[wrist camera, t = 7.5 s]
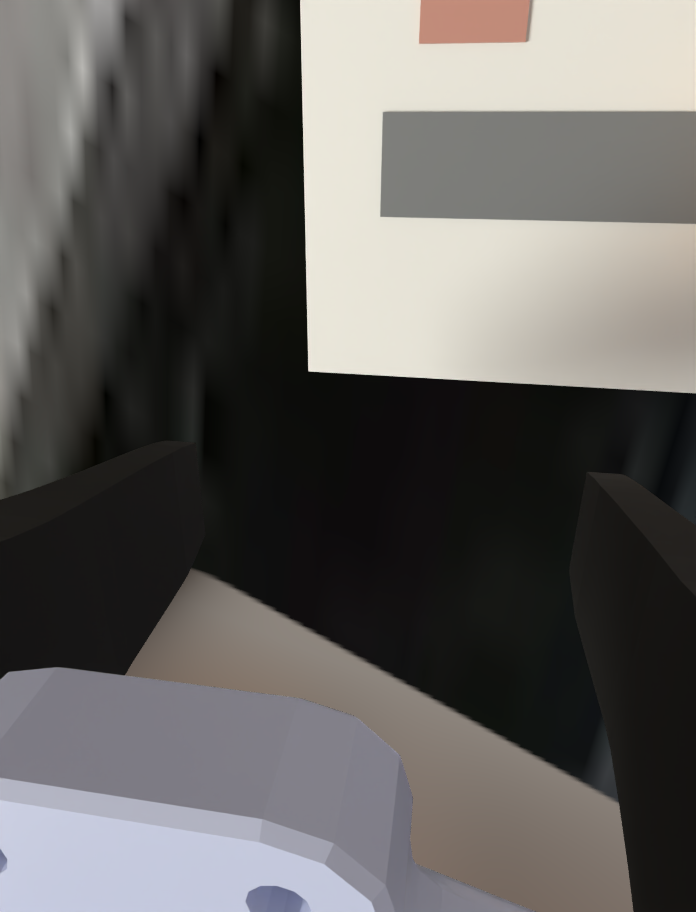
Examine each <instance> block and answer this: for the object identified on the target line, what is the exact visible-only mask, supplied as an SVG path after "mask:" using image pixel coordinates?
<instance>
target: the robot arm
mask: <svg viewBox="0 0 696 912" xmlns="http://www.w3.org/2000/svg"><path fill="white" fill-rule="evenodd" d="M204 536H205V527H204V518H203V508H202V499H201V489H200V479H199V470H198V460H197V451H196V443H191V442H177V441H162V442H157V443H154V444H150V445H147V446H145V447H142V448H139V449H136V450H134V451H131V452H128V453H126V454H123V455H121V456H118V457H116V458H113V459H111V460H108V461H106V462H104V463H101V464H99V465H96V466H94V467H91V468H89V469H86V470H84V471H81V472H79V473H76V474H73V475H71V476H68V477H65V478H63V479H60V480H57V481H54V482H52V483H49V484H46V485H43V486H41V487H38V488H35V489H33V490H30V491H27V492H24V493H21V494H18V495H15V496H11V497H8V498H5V499H2V500H0V912H535V911H533V910H530V909H528V908H525V907H523V906H520V905H518V904H515V903H513V902H510V901H508V900H505V899H503V898H500V897H498V896H495V895H493V894H490V893H488V892H485V891H483V890H480V889H478V888H475V887H473V886H470V885H468V884H465V883H463V882H460V881H458V880H455V879H453V878H450V877H448V876H445V875H443V874H440V873H438V872H435V871H433V870H430V869H428V868H425V867H423V866H420V865H418V864H415V862H414V860H413V858H412V851H411V844H410V832H411V818H412V804H413V796H412V793H411V789H410V786H409V783H408V780H407V776H406V773H405V770H404V767H403V763H402V760H401V757H400V755H399V754H398V753H397V752H396V751H395V750H394V749H392V748H391V747H390V746H389V745H388V744H387V743H386V742H384V741H383V740H382V739H381V738H380V737H379V736H378V735H376V734H375V733H374V732H373V731H372V730H370V728H369V727H367V726H366V725H365V724H364V723H363V722H362V721H361V720H359V719H358V718H357V717H355V716H353V715H350V714H347V713H344V712H341V711H338V710H335V709H332V708H329V707H326V706H323V705H320V704H317V703H314V702H311V701H308V700H305V699H302V698H295V697H287V696H279V695H271V694H264V693H255V692H248V691H241V690H233V689H225V688H217V687H210V686H201V685H194V684H187V683H178V682H170V681H163V680H155V679H147V678H140V677H132V676H125V674H126V672H127V671H128V669H129V667H130V666H131V664H132V662H133V660H134V659H135V657H136V656H137V654H138V653H139V651H140V650H141V648H142V647H143V645H144V643H145V642H146V640H147V639H148V637H149V635H150V634H151V633H152V631H153V629H154V628H155V626H156V625H157V623H158V622H159V620H160V619H161V617H162V615H163V614H164V612H165V611H166V609H167V608H168V606H169V604H170V603H171V601H172V600H173V598H174V596H175V595H176V593H177V592H178V590H179V588H180V587H181V585H182V584H183V582H184V580H185V579H186V577H187V575H188V573H189V571H190V569H191V567H192V564H193V562H194V560H195V558H196V556H197V553H198V551H199V548H200V546H201V543H202V541H203V539H204ZM569 570H570V579H571V588H572V597H573V604H574V612H575V618H576V621H577V625H578V629H579V633H580V637H581V640H582V644H583V648H584V651H585V655H586V658H587V662H588V666H589V669H590V673H591V676H592V680H593V683H594V687H595V691H596V694H597V698H598V701H599V705H600V708H601V712H602V716H603V719H604V723H605V727H606V731H607V736H608V740H609V745H610V749H611V755H612V762H613V768H614V774H615V780H616V787H617V793H618V799H619V805H620V813H621V820H622V826H623V834H624V841H625V848H626V855H627V862H628V870H629V878H630V886H631V894H632V902H633V911H634V912H696V525H694V524H693V523H692V522H690V521H689V520H687V519H686V518H685V517H683V516H682V515H680V514H679V513H678V512H676V511H675V510H674V509H672V508H671V507H669V506H668V505H667V504H665V503H664V502H663V501H661V500H660V499H659V498H657V497H656V496H655V495H653V494H652V493H650V492H649V491H648V490H646V489H645V488H644V487H642V486H641V485H639V484H638V483H636V482H635V481H633V480H632V479H630V478H629V477H627V476H625V475H621V474H607V473H594V472H587V474H586V480H585V485H584V491H583V496H582V502H581V507H580V513H579V519H578V524H577V530H576V535H575V541H574V546H573V552H572V557H571V563H570V568H569Z"/></svg>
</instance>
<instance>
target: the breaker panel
mask: <svg viewBox="0 0 696 912" xmlns="http://www.w3.org/2000/svg"><path fill="white" fill-rule="evenodd" d="M300 9H301V54H302V99H303V143H304V188H305V233H306V278H307V323H308V368H309V371H313V372H331V373H348V374H366V375H384V376H401V377H419V378H437V379H454V380H472V381H489V382H507V383H525V384H542V385H560V386H578V387H595V388H613V389H631V390H648V391H666V392H683V393H696V0H300Z"/></svg>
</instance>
